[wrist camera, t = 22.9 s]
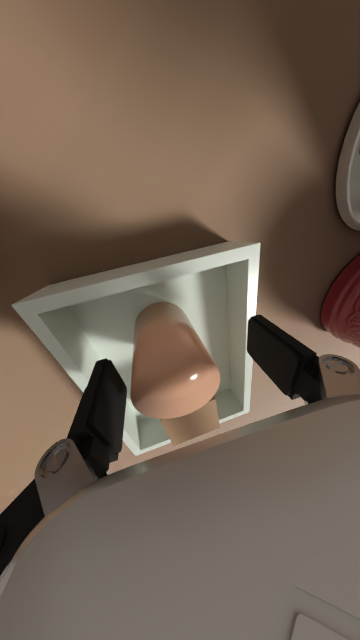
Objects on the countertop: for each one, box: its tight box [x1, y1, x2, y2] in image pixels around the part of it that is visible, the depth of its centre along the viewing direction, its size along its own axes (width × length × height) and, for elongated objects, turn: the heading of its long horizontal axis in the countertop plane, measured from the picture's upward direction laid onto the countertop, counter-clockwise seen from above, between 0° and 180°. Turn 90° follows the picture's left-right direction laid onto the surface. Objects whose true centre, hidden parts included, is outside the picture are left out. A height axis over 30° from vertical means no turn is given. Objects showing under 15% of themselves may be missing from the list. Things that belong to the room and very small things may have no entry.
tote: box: [11, 241, 261, 456], centre depth 16 cm, size 15×20×4 cm
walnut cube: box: [160, 396, 220, 446], centre depth 16 cm, size 5×5×5 cm
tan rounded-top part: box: [130, 302, 220, 419], centre depth 12 cm, size 5×5×7 cm
